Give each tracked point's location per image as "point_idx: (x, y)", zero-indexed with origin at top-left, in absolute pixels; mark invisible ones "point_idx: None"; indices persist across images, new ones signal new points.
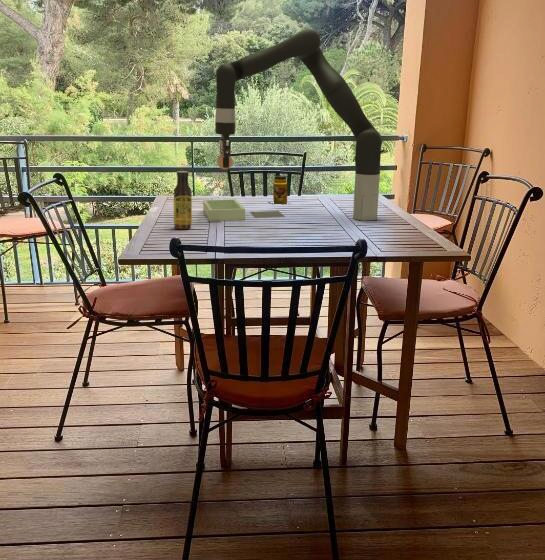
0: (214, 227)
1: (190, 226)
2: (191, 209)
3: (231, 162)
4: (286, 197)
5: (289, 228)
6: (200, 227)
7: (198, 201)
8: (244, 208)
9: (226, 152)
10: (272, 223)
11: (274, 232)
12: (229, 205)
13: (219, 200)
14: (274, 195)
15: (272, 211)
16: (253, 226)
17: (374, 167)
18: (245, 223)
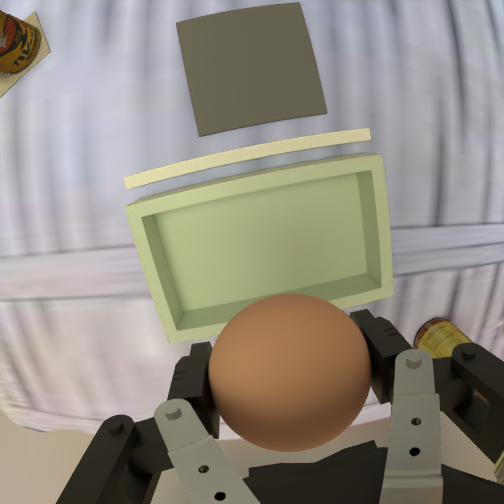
0: (442, 255)
1: (443, 319)
2: (465, 340)
3: (335, 308)
4: (20, 20)
5: (454, 34)
6: (435, 294)
7: (24, 338)
8: (370, 156)
9: (204, 428)
10: (398, 62)
11: (494, 88)
12: (152, 228)
13: (159, 278)
14: (9, 60)
15: (189, 42)
16: (440, 132)
17: None
18: (401, 154)
